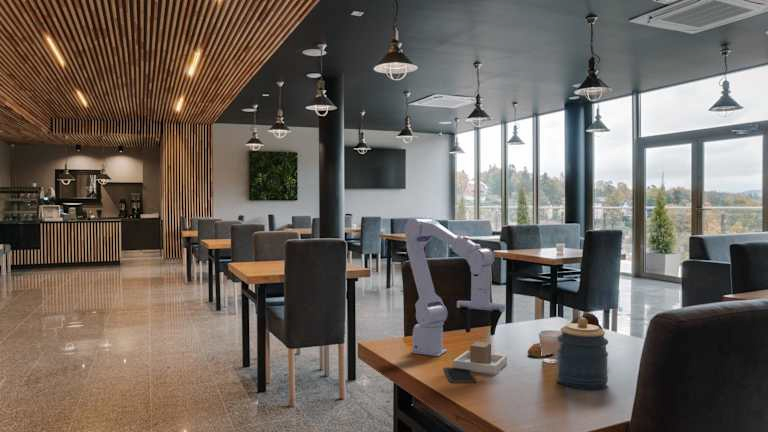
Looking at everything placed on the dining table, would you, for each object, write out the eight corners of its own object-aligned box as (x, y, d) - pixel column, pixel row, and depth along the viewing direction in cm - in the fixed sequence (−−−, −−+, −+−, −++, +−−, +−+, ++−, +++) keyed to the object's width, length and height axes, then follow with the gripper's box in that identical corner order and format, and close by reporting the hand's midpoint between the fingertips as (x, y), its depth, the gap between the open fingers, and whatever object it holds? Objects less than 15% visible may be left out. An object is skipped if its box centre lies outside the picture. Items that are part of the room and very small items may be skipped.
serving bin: (453, 368, 161) (453, 360, 161) (467, 358, 172) (467, 350, 172) (495, 375, 155) (495, 366, 155) (506, 364, 167) (506, 355, 167)
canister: (602, 394, 140) (603, 324, 140) (551, 385, 147) (551, 319, 147) (611, 380, 151) (612, 316, 151) (563, 373, 158) (564, 311, 158)
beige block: (470, 365, 163) (470, 345, 163) (476, 360, 168) (476, 341, 168) (484, 367, 160) (485, 347, 160) (491, 362, 166) (491, 342, 166)
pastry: (540, 360, 172) (540, 347, 172) (521, 356, 177) (521, 344, 177) (555, 354, 179) (555, 342, 179) (537, 350, 184) (537, 339, 184)
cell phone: (468, 369, 162) (468, 367, 162) (477, 384, 148) (477, 381, 148) (443, 369, 162) (443, 367, 162) (450, 384, 148) (450, 381, 148)
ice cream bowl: (605, 358, 173) (605, 311, 173) (603, 368, 163) (603, 317, 163) (569, 355, 178) (570, 308, 177) (565, 363, 167) (565, 314, 167)
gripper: (453, 288, 166) (452, 333, 166) (500, 292, 159) (500, 338, 159) (461, 285, 172) (461, 328, 172) (507, 289, 165) (506, 334, 166)
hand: (480, 333), depth 166 cm, fingers open, 7 cm apart
